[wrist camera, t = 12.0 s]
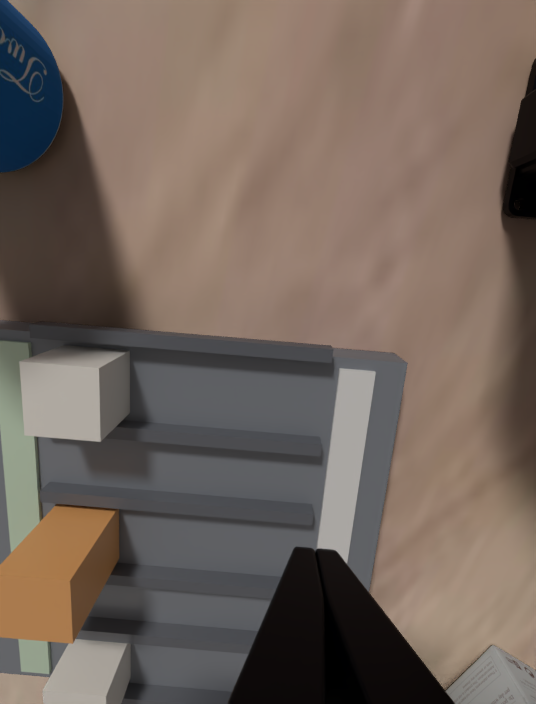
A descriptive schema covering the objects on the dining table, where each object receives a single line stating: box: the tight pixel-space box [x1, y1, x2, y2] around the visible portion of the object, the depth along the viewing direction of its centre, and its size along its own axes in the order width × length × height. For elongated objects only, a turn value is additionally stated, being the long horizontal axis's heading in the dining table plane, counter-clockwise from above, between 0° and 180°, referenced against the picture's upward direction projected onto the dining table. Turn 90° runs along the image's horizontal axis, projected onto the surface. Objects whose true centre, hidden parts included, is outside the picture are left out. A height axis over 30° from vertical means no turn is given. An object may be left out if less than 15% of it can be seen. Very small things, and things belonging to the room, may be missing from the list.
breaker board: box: [0, 320, 407, 704], centre depth 18 cm, size 20×21×5 cm
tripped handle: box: [0, 504, 119, 644], centre depth 17 cm, size 3×3×4 cm
